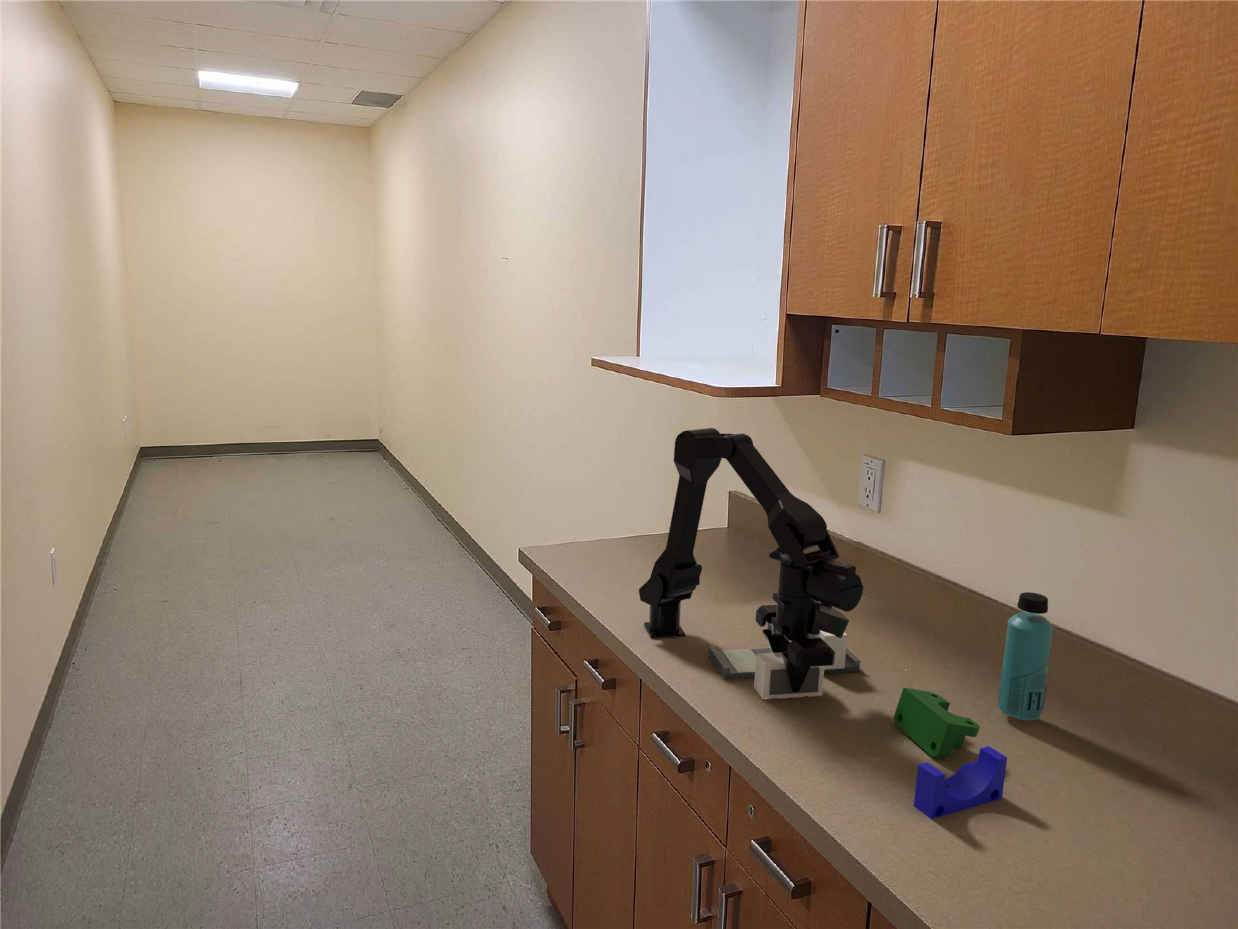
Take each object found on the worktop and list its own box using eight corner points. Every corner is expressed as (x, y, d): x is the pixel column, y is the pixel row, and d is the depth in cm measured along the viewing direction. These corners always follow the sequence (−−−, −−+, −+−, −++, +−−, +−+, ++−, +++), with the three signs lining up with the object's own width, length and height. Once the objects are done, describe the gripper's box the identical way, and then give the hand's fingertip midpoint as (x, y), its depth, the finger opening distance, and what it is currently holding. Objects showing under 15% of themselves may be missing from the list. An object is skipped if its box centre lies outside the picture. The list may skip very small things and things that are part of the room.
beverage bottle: (1025, 734, 130) (1042, 606, 126) (985, 715, 136) (1001, 592, 132) (1051, 723, 134) (1068, 599, 130) (1011, 705, 139) (1027, 585, 135)
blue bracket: (974, 781, 118) (979, 740, 117) (1001, 799, 114) (1007, 757, 113) (905, 801, 113) (909, 758, 112) (930, 821, 109) (935, 777, 108)
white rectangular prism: (754, 688, 143) (756, 653, 141) (812, 684, 145) (814, 650, 143) (763, 701, 138) (766, 665, 137) (823, 697, 140) (826, 662, 139)
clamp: (954, 780, 126) (990, 739, 121) (920, 775, 124) (954, 734, 119) (920, 713, 136) (952, 673, 131) (887, 708, 134) (918, 667, 129)
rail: (708, 656, 154) (708, 646, 154) (836, 650, 159) (837, 639, 158) (723, 679, 145) (724, 668, 145) (859, 671, 150) (860, 660, 149)
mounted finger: (796, 645, 157) (798, 614, 156) (820, 644, 158) (822, 612, 157) (818, 669, 148) (821, 636, 147) (844, 668, 149) (847, 635, 147)
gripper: (871, 611, 130) (862, 708, 134) (820, 570, 148) (813, 657, 151) (800, 614, 128) (793, 713, 131) (757, 572, 146) (751, 660, 149)
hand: (789, 684), depth 141 cm, fingers open, 5 cm apart
